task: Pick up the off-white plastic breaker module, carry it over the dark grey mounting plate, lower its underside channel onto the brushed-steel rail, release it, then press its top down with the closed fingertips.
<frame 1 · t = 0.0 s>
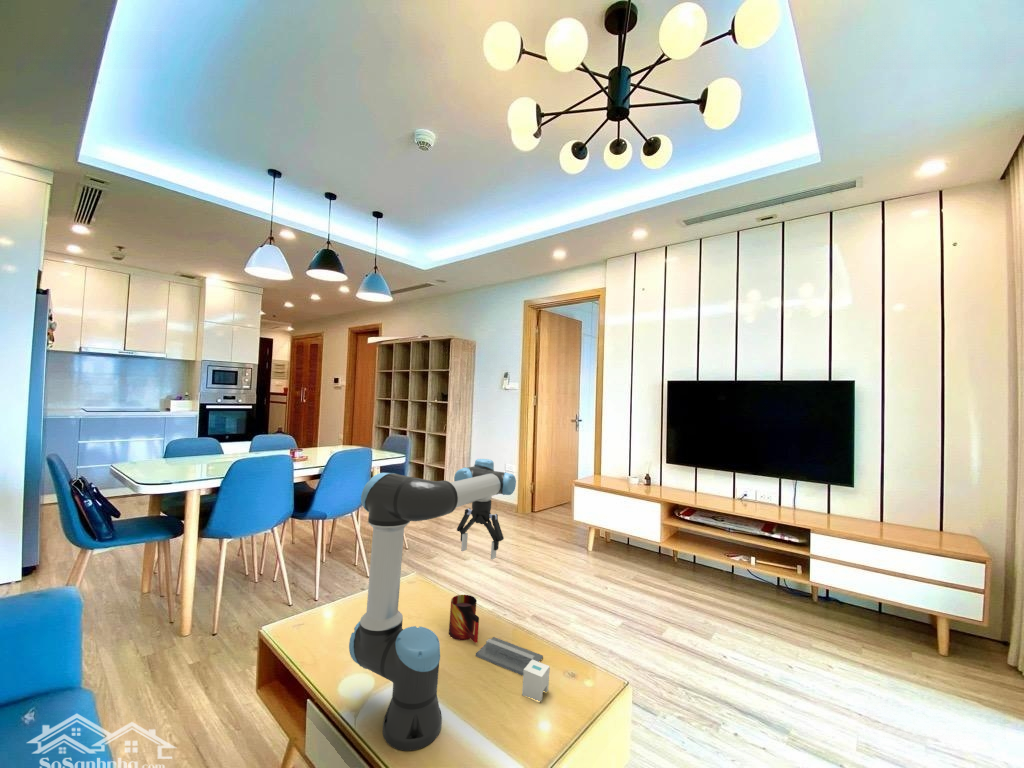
hand: (478, 554, 160), 28 cm above the table, fingers open, 13 cm apart
rail plate: (509, 657, 141), on the table
module: (535, 693, 124), on the table
mug: (466, 635, 153), on the table
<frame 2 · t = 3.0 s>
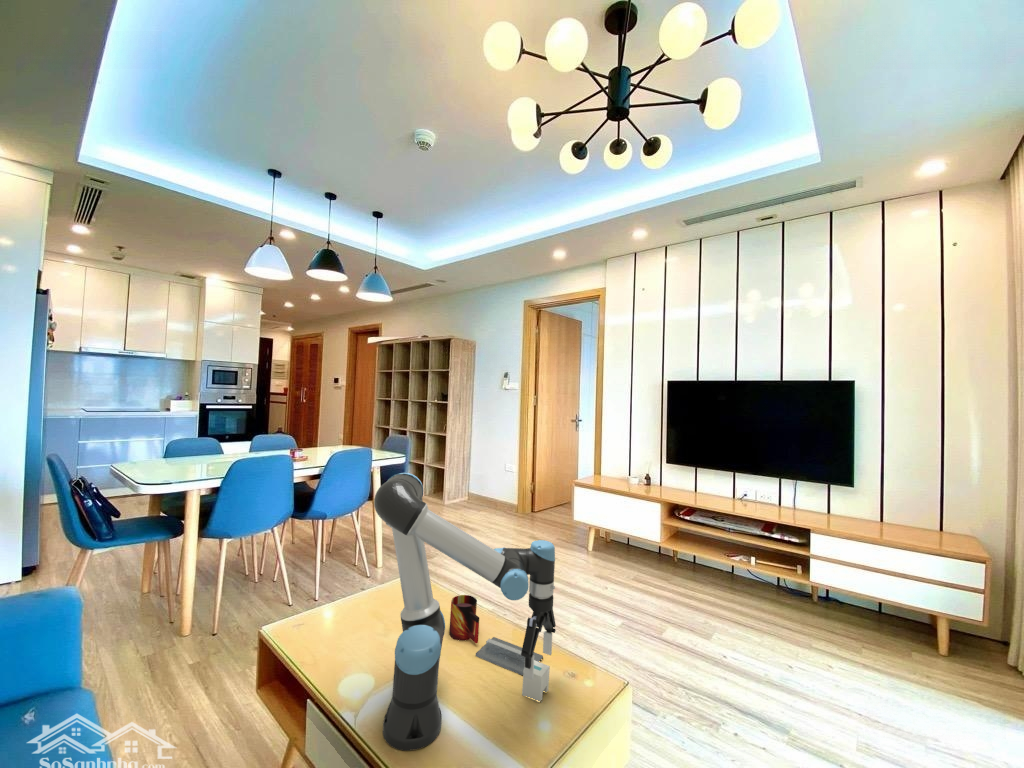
hand: (538, 665, 125), 8 cm above the table, fingers open, 13 cm apart
nothing on the table moved.
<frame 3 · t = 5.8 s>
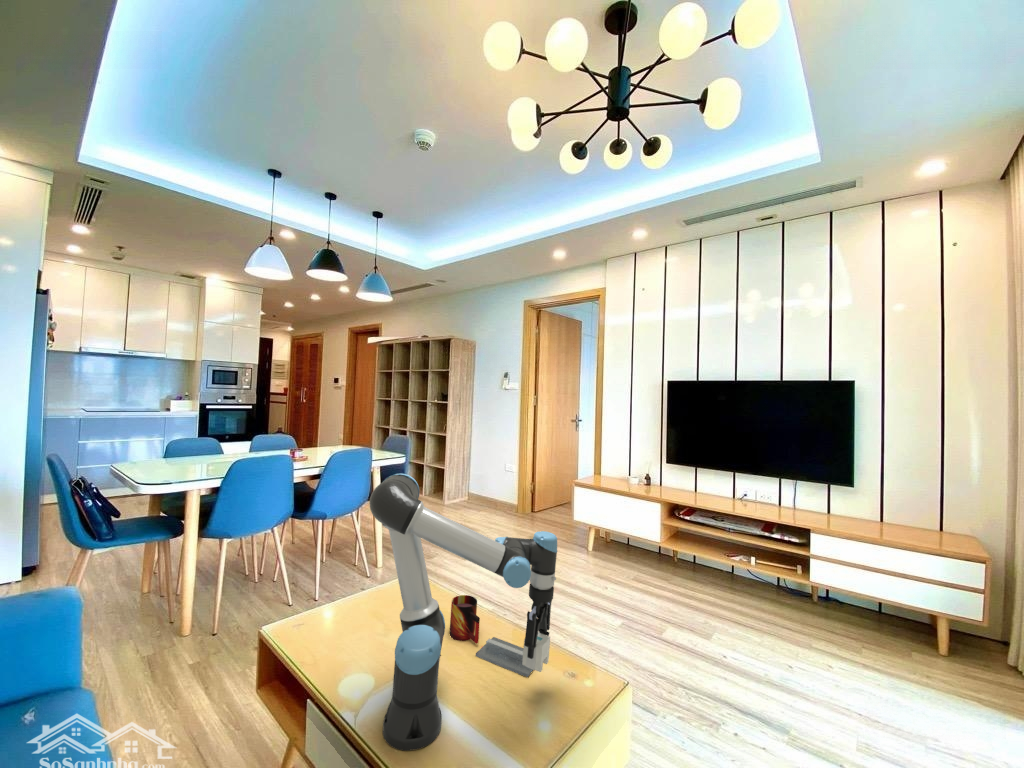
hand: (535, 661, 125), 9 cm above the table, fingers closed on module, 6 cm apart
module: (535, 663, 125), point 9 cm above the table, touching gripper
everything else where it was.
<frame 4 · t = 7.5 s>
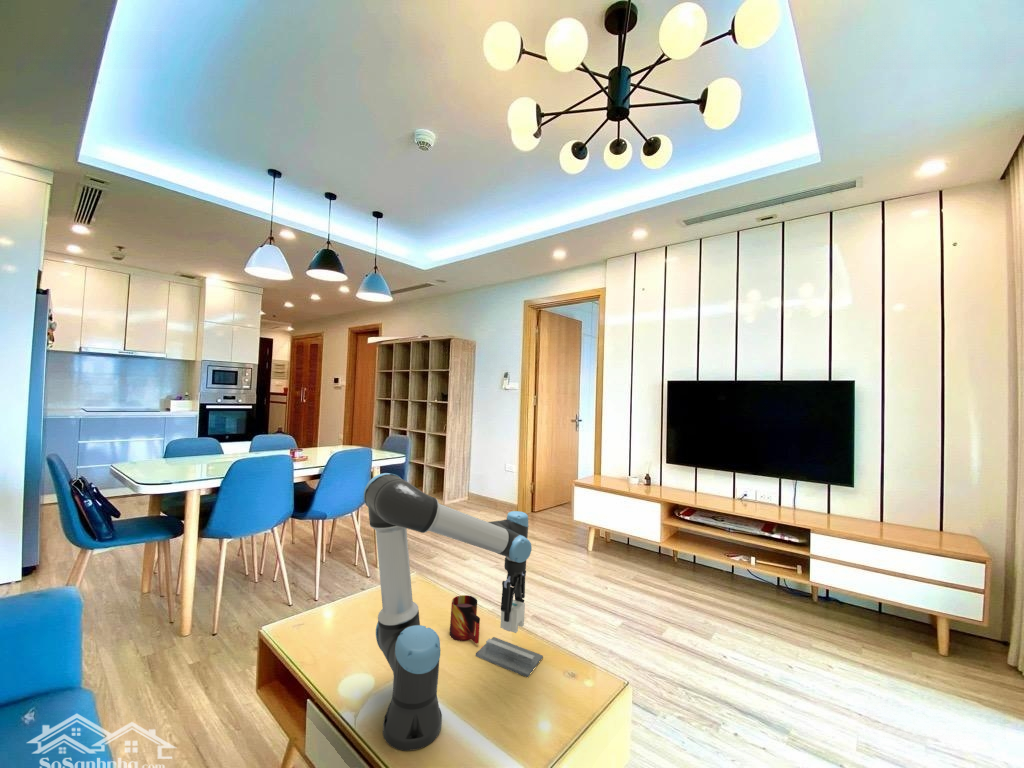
hand: (511, 625, 142), 11 cm above the table, fingers closed on module, 6 cm apart
module: (512, 626, 142), point 10 cm above the table, touching gripper
everything else where it was.
when the fingers open (1 cm above the table, at t = 9.5 s): module stays where it is, resting on rail plate.
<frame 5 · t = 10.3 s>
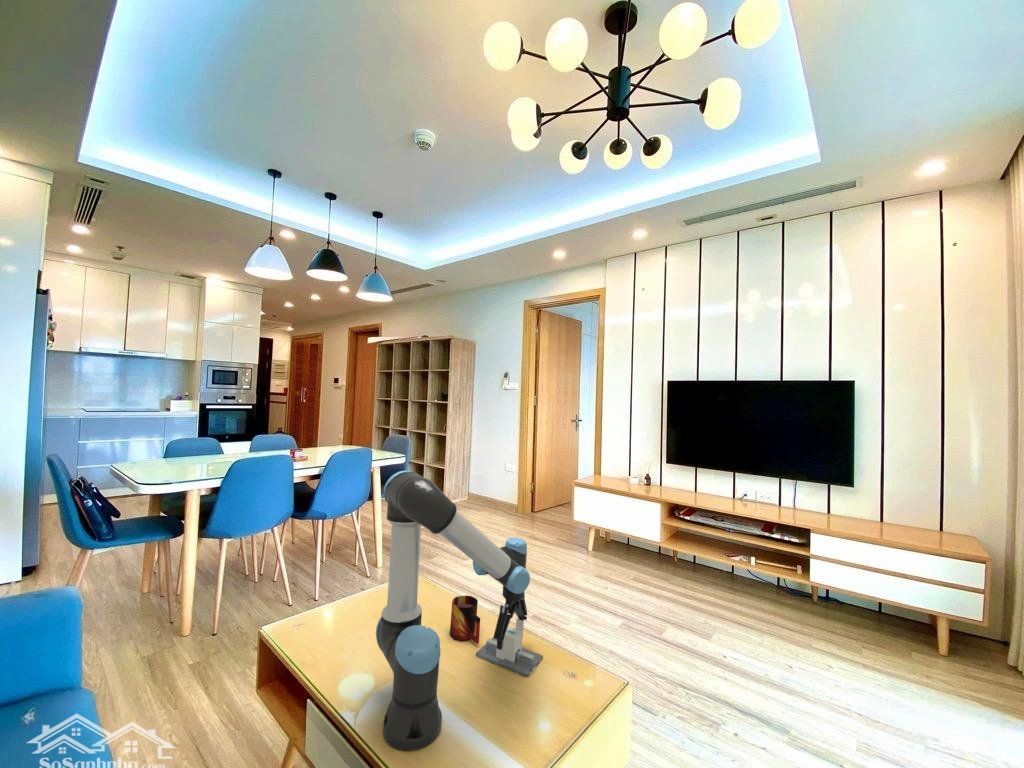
hand: (509, 647, 141), 3 cm above the table, fingers open, 13 cm apart
module: (509, 654, 141), point 1 cm above the table, touching rail plate
everything else where it was.
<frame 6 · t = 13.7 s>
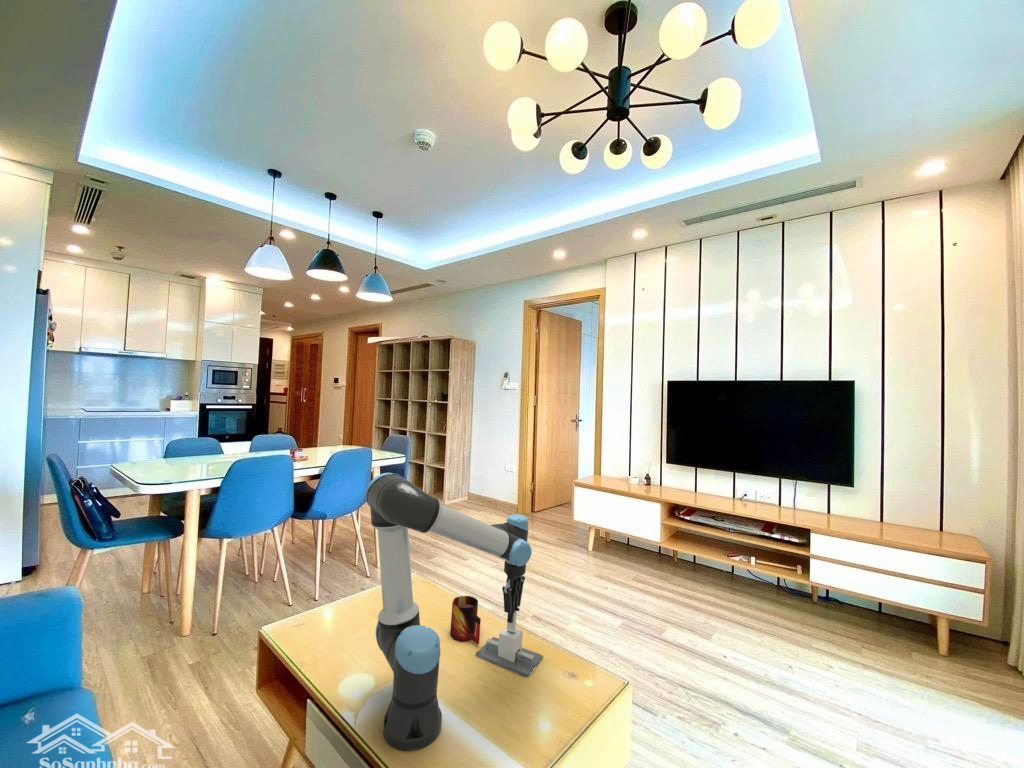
hand: (511, 630, 142), 9 cm above the table, fingers closed
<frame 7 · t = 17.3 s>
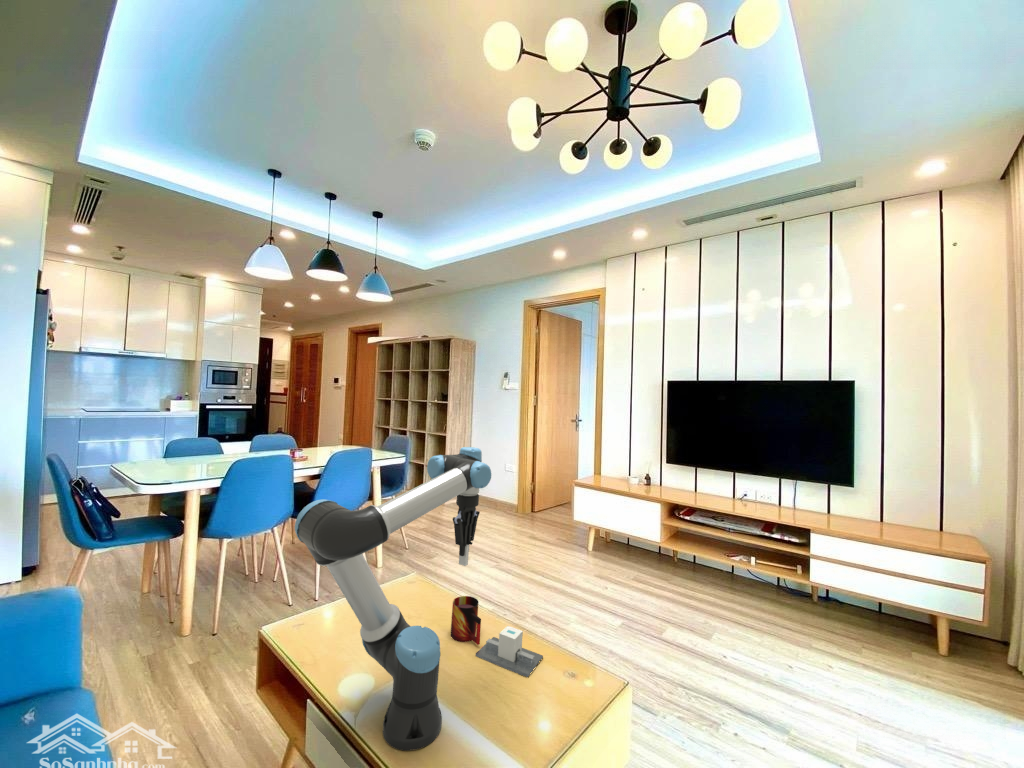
hand: (463, 564, 138), 32 cm above the table, fingers closed
at the end: module inside the target area on the rail plate (0.1 cm from its centre), point 1.0 cm above the rail plate's base; module tilted 0°; the gripper is holding nothing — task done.
